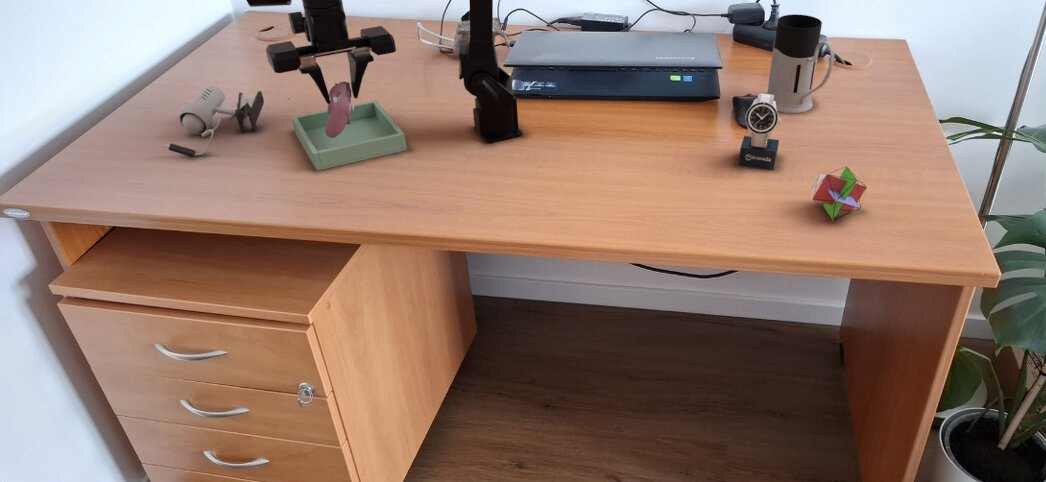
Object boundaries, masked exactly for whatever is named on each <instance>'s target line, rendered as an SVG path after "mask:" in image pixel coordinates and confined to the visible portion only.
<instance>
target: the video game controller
mask: <svg viewBox="0 0 1046 482" xmlns="http://www.w3.org/2000/svg"><path fill="white" fill-rule="evenodd" d="M328 94H329V98H330V104H327V110H328V113H329V114H330V117H329V119H328V121H327V124H326V126H325V133H326V135H327V136H328V137H330V138H334V137H336V136H338V135H339V134H340V133H341V132H342V131H343V129H344V128H345V126H346V124H350V116H351V111H352V112H353V111H354V105H355V104H354V103H352V102H351V100H352V99H351V98H352V88H351V82H348V81H339V82H338V83H337V82H334V85H333V86H332V87H331V88H330V90H329V92H328ZM351 105H352V106H351Z"/></svg>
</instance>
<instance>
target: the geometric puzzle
mask: <svg viewBox="0 0 1046 482" xmlns="http://www.w3.org/2000/svg"><path fill="white" fill-rule="evenodd" d="M843 168H844V169H843ZM842 169H843V171H842V173H841V174H840V176H838V175H833V174H832V173H833V171H831V172H829V173H822V172H820V173H818V175H817V176H816V177H815V179H814V181H813V183H812V186H811V196H812V197H811V198H812V200H813V201H814V202H815V203H818V205H820V206H822V207H823V208H824V209H825V210H824V209H823V208H821V210H822V211H824V213H826V215H828V217H830V219H831V220H832V221H834V220H837V219H840V218H842V217H844V216H846V215H848V214H851V213H854V212H855V211H856V212H857V211H859V210H862V205H863V202H864V201H862V202H861V198H862V196H863V194H865V193H866V192H867V189H868V186H866V184H865V183H863V182H862V181H861V179H860V178H859V177H858V176H856V174H855V173H854V172H853V171H852V170H851V169H850V168H849V167H848V165H845V166H843V167H842ZM839 170H840V168H838V169H836V170H835V172H836V171H839ZM859 183H860V184H859ZM818 184H819V186H818ZM817 186H818V188H817ZM816 189H817V190H816ZM864 198H865V197H863V198H862V200H864ZM858 202H861V204H859V205H858ZM855 208H856V209H855ZM840 210H842V211H849V212H846V213H844V214H842V215H840V216H838V217H836V216H837V214H838V213H839V211H840Z"/></svg>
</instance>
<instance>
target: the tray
mask: <svg viewBox="0 0 1046 482" xmlns="http://www.w3.org/2000/svg"><path fill="white" fill-rule="evenodd" d="M353 105H354V111H353V112H352V111H351V116H350V124H346V126H345V128H344V129H343V131H342V132H341V133H340V134H339V135H338V136H336V137H334V138H330V137H328V136H327V135H326V133H325V126H326V124H327V121H328V119H329V117H330V114H329V113H328V109H325V110H320V111H317V112H311V113H305V114H301V115H300V114H299V115H296V116H292V117H291V122H292V126H293V131H294V134H295V135H296V137H297V139H298V140H299V142H300V144H301V145H302V147H303V149H304V150H305V153H306V154H307V156H308V158H309V159H310V161H311V164H312V165H313V166H314V168H315V170H316V171H317V172H318V171H321V170H326V169H331V168H335V167H339V166H344V165H348V164H353V163H356V162H362V161H366V160H370V159H374V158H379V157H383V156H387V155H392V154H396V153H401V152H406V151H407V150H408V148H407V141H406V135H405V133H404V132H403V130H402V129H401V128H400V127H399V125H398V124H397V123H396V122H395V121H394V119H393V118H392V117H391V116H390V115H389V113H388V112H387V111H386V110H385V108H384V107H383V106H382V105H381V104H380V102H379V101H378V100H371V101H365V102H359V103H355V104H353ZM351 106H352V104H351Z"/></svg>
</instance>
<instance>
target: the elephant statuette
mask: <svg viewBox="0 0 1046 482" xmlns="http://www.w3.org/2000/svg"><path fill="white" fill-rule="evenodd" d="M456 25H457V27H456V29H455V35H454V39H453V48H452V54H453V56H454V57H456V58H457V57H458V58H459V42H465V43H468V38H469V33H470V19H469V20H463V21H461V22H459V23H457V24H456ZM497 36H501V37H502V38H503V39H504V42H505V46H506V47H507V48H510V46H511V43H510V41H509V39H508V36H507V35H506V32H505V31H502V22H501V20H500V19H499V18H498V17H497V16H495V17H494V16H493V39H494V43H495V42H496V39H497V38H496V37H497Z"/></svg>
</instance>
